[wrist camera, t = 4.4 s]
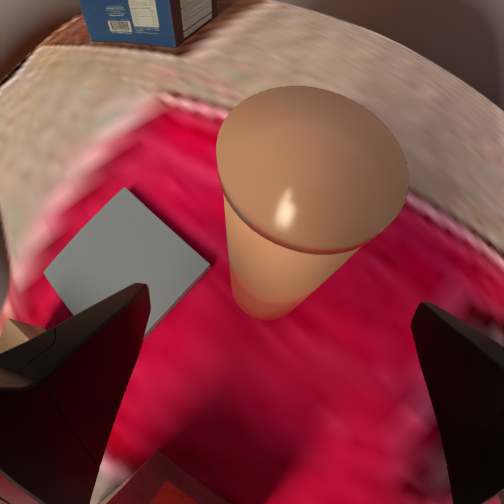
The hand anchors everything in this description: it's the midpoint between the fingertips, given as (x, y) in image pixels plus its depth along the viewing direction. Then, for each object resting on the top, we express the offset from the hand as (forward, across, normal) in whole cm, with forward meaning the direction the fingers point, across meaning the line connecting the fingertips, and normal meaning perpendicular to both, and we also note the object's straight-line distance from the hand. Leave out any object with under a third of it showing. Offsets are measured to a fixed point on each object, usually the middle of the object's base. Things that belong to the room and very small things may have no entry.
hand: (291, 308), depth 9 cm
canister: (+9, 0, +5) cm, 11 cm away
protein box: (+34, +17, -19) cm, 42 cm away
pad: (+9, +10, +5) cm, 14 cm away
